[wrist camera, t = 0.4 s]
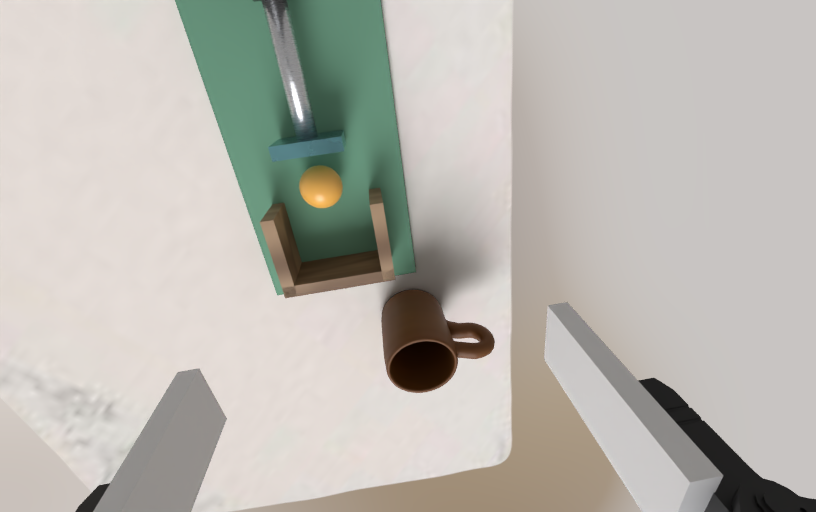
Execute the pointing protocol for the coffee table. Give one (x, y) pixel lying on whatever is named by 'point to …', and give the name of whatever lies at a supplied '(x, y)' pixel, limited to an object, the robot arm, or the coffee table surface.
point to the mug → (426, 342)
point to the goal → (326, 271)
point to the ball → (320, 186)
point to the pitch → (332, 109)
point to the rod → (295, 92)
